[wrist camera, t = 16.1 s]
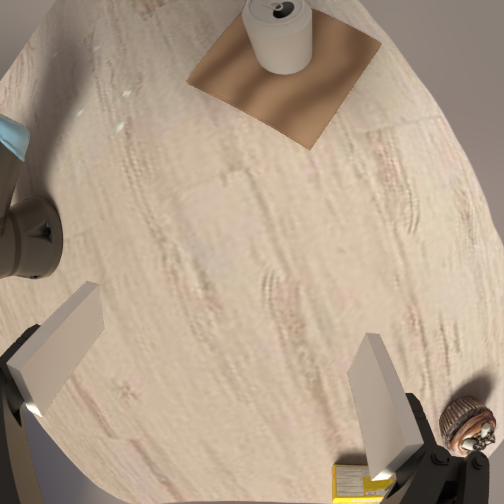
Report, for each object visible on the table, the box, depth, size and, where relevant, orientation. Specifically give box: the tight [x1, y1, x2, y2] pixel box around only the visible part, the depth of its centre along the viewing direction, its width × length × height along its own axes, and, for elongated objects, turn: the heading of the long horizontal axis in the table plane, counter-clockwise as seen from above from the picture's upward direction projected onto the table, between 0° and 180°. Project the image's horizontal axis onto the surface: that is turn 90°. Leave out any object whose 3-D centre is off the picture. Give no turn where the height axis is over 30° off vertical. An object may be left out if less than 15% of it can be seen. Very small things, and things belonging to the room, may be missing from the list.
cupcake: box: [439, 396, 496, 455], centre depth 31 cm, size 10×10×10 cm
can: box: [242, 0, 312, 75], centre depth 28 cm, size 8×8×12 cm
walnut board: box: [186, 8, 381, 150], centre depth 35 cm, size 20×20×1 cm
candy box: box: [332, 464, 397, 503], centre depth 36 cm, size 16×2×8 cm, turn 84°
